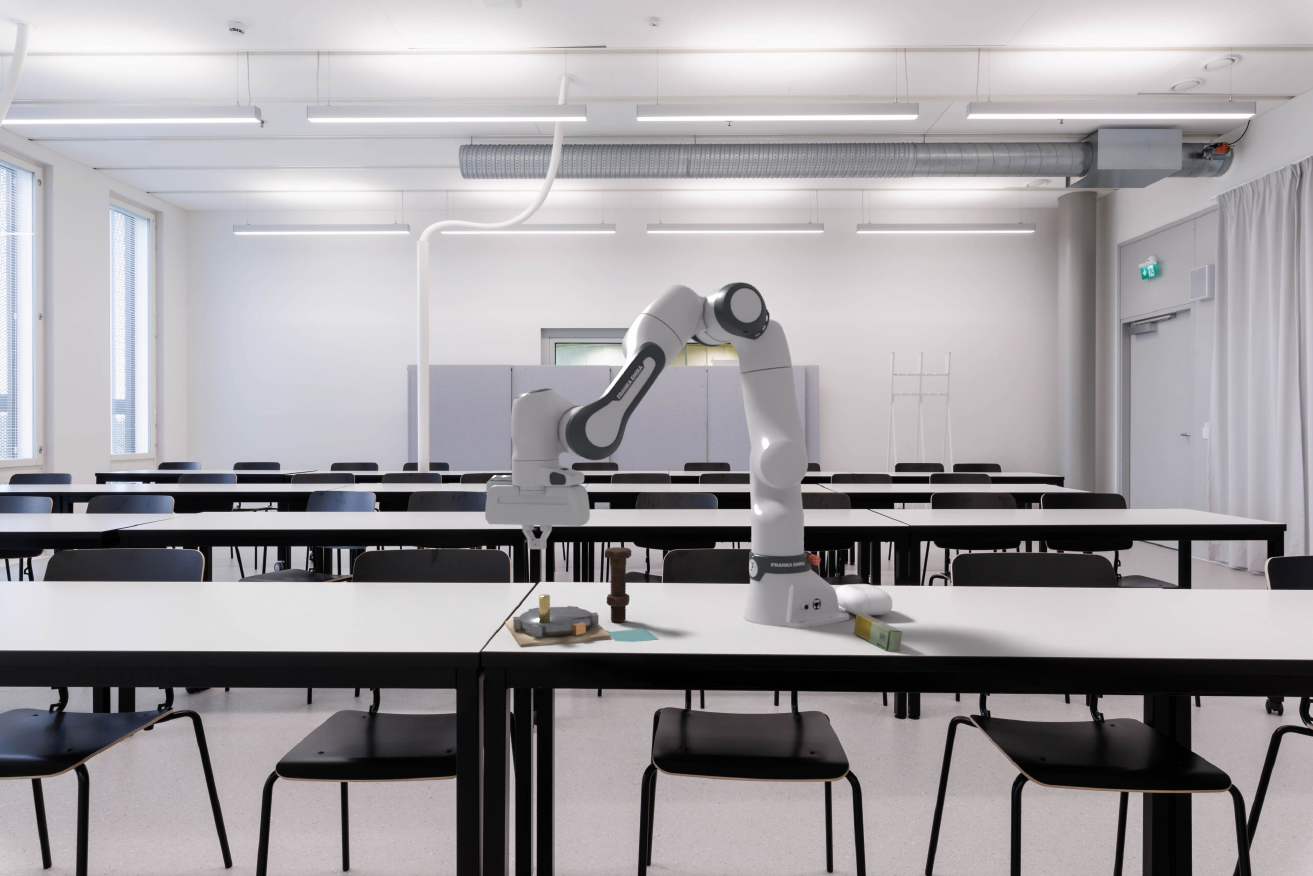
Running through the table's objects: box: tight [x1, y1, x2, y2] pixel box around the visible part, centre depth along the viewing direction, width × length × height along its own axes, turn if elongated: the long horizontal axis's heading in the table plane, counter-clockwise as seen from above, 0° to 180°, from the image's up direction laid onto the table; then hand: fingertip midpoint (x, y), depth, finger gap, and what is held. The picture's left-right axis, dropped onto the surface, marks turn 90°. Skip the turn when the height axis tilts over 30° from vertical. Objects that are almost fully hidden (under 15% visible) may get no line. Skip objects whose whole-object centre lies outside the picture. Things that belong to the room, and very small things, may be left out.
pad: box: [607, 627, 659, 643], centre depth 141 cm, size 8×8×1 cm
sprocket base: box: [504, 619, 611, 648], centre depth 144 cm, size 17×17×1 cm
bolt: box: [604, 546, 632, 623], centre depth 152 cm, size 6×5×15 cm
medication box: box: [853, 614, 903, 653], centre depth 137 cm, size 12×3×4 cm, turn 15°
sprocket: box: [512, 594, 599, 637], centre depth 144 cm, size 16×15×7 cm
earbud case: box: [835, 583, 893, 617], centre depth 161 cm, size 10×13×5 cm
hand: (537, 548), depth 138 cm, fingers closed
